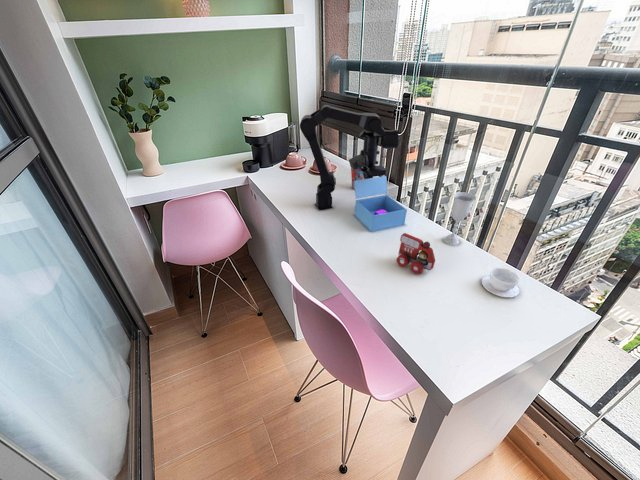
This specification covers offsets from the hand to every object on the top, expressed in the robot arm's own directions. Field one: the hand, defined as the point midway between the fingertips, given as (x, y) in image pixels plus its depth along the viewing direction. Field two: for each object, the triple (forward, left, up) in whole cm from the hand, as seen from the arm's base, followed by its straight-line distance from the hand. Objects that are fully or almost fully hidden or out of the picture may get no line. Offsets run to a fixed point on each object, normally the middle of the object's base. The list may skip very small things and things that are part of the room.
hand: (366, 184), depth 132 cm
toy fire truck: (-5, -45, -11) cm, 46 cm away
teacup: (+13, -63, -11) cm, 65 cm away
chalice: (+17, -37, -11) cm, 42 cm away
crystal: (0, -14, -10) cm, 17 cm away
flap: (0, -4, +1) cm, 4 cm away
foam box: (0, -13, -10) cm, 17 cm away
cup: (+7, +21, -11) cm, 25 cm away
